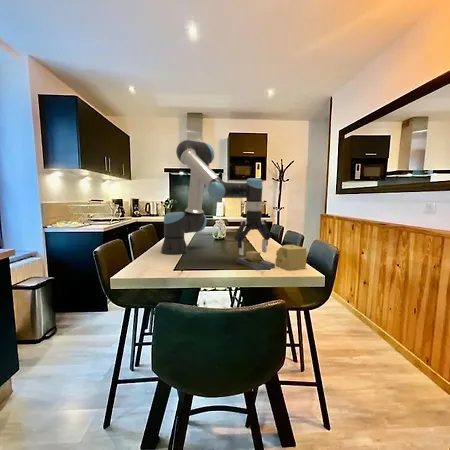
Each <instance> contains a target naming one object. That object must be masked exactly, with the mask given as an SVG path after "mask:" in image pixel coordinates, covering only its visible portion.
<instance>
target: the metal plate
mask: <svg viewBox="0 0 450 450" xmlns="http://www.w3.org/2000/svg"><path fill="white" fill-rule="evenodd" d="M236 262H237V263H239V264H241V265H244V266H246V267H248V268H251V269H253V270H256V271H264V270H270V269H275V268H276V263H273V262H271V261H268V260H266V259H263V258H260V261H257V262H249V261H246V256H244V257H243V256H242V257H236Z"/></svg>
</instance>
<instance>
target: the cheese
mask: <svg viewBox="0 0 450 450" xmlns="http://www.w3.org/2000/svg"><path fill="white" fill-rule="evenodd" d="M307 252H308V251H307V248H306V247H303V246H299V245H295V244H284V245H282V246H280V247H279V248H278V249H277V250H276V254H275V255H276V258H275V263H274V264H275V267H278V268H279V267H280V268H281V269H284V270H286V271H295V270H303V269H306V265H307V257H308V256H307Z"/></svg>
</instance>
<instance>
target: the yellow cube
mask: <svg viewBox="0 0 450 450" xmlns="http://www.w3.org/2000/svg"><path fill="white" fill-rule="evenodd" d="M245 257H246V261H249V262H257V261H260V259H261V252H259V251H256V250H251V251H246V252H245Z"/></svg>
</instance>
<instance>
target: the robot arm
mask: <svg viewBox="0 0 450 450" xmlns="http://www.w3.org/2000/svg"><path fill="white" fill-rule="evenodd" d="M175 151H176V156H177V159H178V160H179V161H180V163H182V164H183V165H185V166H186V167H188V168H189V169H190V178H189V188H188V189H189V190H188V200H187V207H186V208H185V209H184V211H173V212H167V213H166V214H164V216H163V235H164V237H163V238H164V239H163V242H162V245H161V251H160V253H162V254H164V255H181V254H182V255H183V254H186V253H188V245H187V243H186V240H185V234H190V233H191V234H192V233H198V232H203V230H204V229H205V228H206V226H207V222H208V220H207V216H206V215H205V214H204V213H205V212H204V210H203V209H202V208H203V207H202V206H203V198H204V189H205V186H206V187H207V192H208V195H209V197H210V198H214V199H245V200H246V204H245V205H246V206H245V209H246V211H245V219H246V220H240V222H239V223H240V224H239V227H238V229H237V231H236V235H235V236H234V240H235V241H237V247H238V249H239V250H238V251H239V252H238V255H241V256H244V251H245V249H244V248H245V247H244V243H245V242H244V241H243V240H244V239H245V238H246V237H247V235H248V233H249V232H250V231H251V230H252V231H253V230H256V231H258V232H259V234H260V235H261V237H262V242H261V243H262V244H261V252H262V253H265V254H267V251H268V250H267V249H268V248H267V246H268V244H269V240H270V239H271V238H272V235H271V232H270V230H269V227H268V224H267V220H266V219H263V218H262V217H263V216H262V213H263V212H262V209H263V188H264V187H263V179H261V178H260V177H259V178H255V177H254V178H253V177H250V178H249V177H248V178H247V179H246V182H226V181H223V180H222V179H221V177H219V175H217V174H216V172H215V171H213V170H212V169H211V168H210V164H211V163H212V162H213V161H214V159H215V152H214V151H215V150H214V148H213V146H212V145H211V144H209V143H206V142H204V141H195V140H191V139H186V140H182V141H181V142H179V144H177V146H176V150H175Z"/></svg>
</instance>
